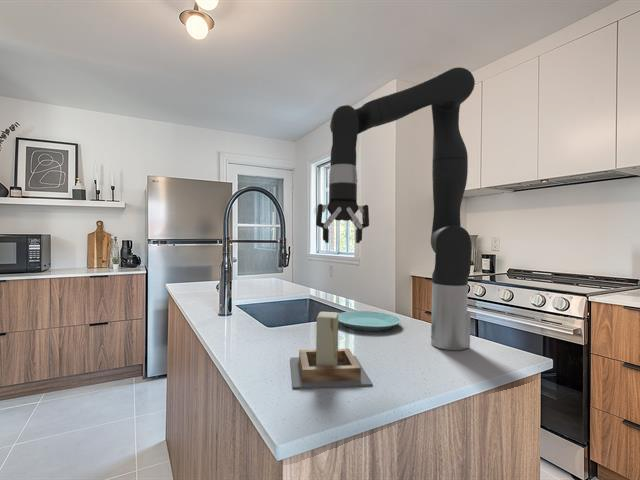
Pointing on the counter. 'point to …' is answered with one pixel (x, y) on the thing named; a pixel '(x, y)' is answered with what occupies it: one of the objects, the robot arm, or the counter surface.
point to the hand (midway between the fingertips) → (342, 242)
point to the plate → (368, 320)
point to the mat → (299, 384)
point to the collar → (329, 367)
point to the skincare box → (327, 339)
